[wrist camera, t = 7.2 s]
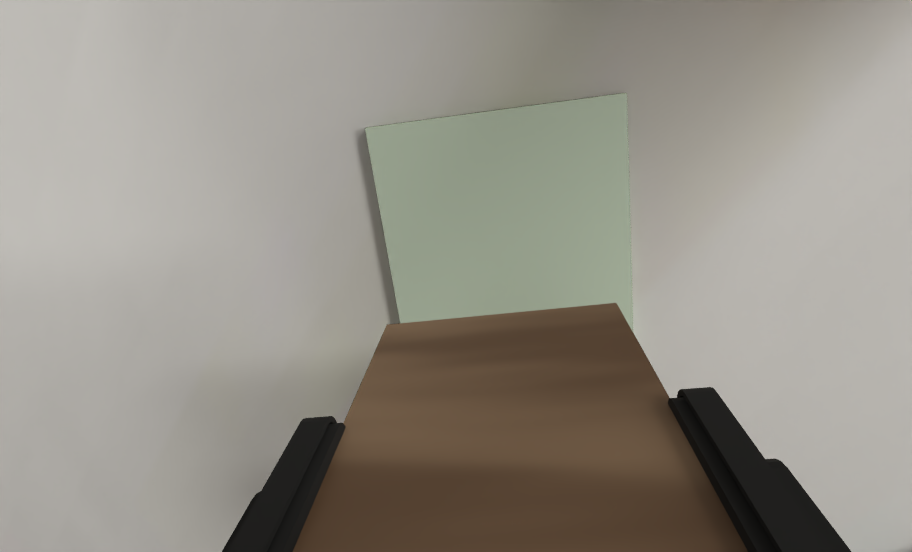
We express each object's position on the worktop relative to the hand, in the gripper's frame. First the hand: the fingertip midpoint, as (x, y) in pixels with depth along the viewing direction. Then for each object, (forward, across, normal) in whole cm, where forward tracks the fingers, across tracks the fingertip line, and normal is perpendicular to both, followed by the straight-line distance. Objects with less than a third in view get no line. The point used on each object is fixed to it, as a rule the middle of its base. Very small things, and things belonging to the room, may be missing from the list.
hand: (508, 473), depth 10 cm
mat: (+18, 0, +13) cm, 22 cm away
